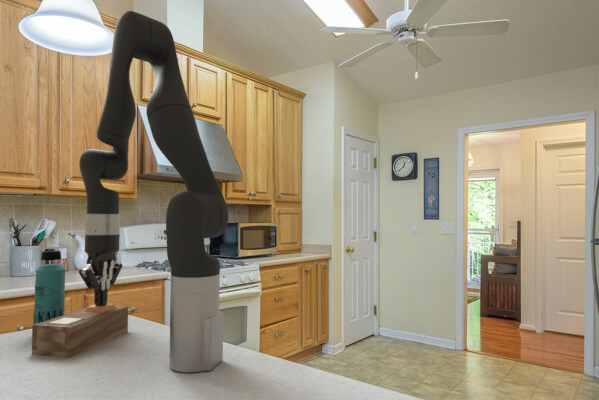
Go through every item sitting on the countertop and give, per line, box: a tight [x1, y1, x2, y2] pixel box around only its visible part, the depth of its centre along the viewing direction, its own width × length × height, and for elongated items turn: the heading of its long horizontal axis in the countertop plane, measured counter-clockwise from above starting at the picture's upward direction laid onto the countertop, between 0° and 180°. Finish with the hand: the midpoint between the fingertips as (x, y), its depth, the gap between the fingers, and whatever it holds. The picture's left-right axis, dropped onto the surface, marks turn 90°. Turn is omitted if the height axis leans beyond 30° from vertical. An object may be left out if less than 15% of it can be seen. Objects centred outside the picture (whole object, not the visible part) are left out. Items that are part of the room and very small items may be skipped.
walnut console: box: [31, 305, 129, 359], centre depth 92 cm, size 9×19×6 cm, turn 169°
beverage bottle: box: [32, 249, 66, 325], centre depth 98 cm, size 6×7×20 cm
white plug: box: [49, 318, 83, 325], centre depth 87 cm, size 4×4×5 cm
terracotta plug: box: [86, 302, 116, 313], centre depth 98 cm, size 4×4×5 cm
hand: (100, 305), depth 98 cm, fingers closed
